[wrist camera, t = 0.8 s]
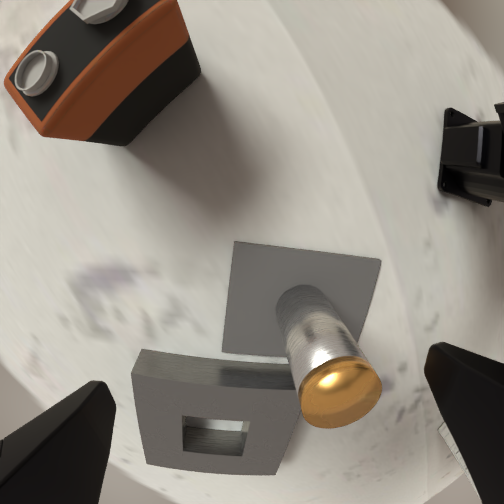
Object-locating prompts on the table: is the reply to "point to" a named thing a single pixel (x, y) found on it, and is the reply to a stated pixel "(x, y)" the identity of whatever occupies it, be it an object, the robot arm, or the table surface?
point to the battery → (103, 69)
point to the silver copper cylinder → (324, 360)
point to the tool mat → (283, 278)
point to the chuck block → (214, 412)
